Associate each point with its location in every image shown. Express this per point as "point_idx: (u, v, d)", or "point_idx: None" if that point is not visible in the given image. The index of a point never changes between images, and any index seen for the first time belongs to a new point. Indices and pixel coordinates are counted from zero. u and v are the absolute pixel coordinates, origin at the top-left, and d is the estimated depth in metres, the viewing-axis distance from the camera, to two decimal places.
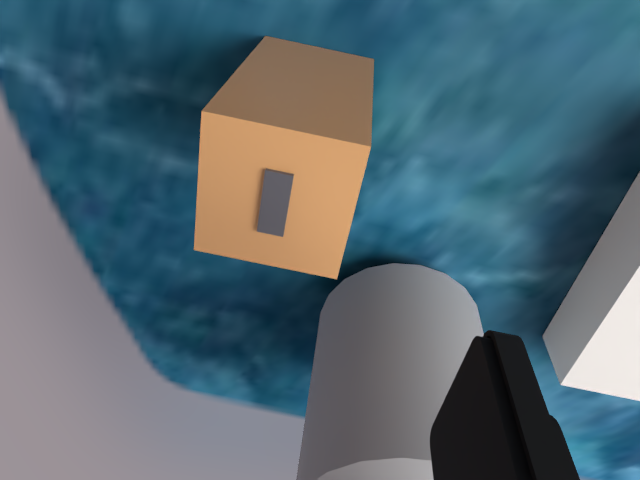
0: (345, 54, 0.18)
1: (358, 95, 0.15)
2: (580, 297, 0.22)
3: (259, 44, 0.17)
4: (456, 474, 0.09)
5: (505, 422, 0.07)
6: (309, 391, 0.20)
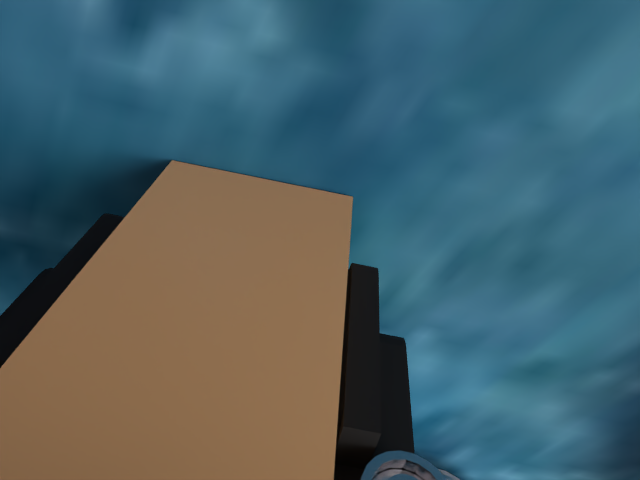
0: (304, 191, 0.11)
1: (315, 331, 0.07)
2: None
3: (151, 187, 0.10)
4: None
5: None
6: None
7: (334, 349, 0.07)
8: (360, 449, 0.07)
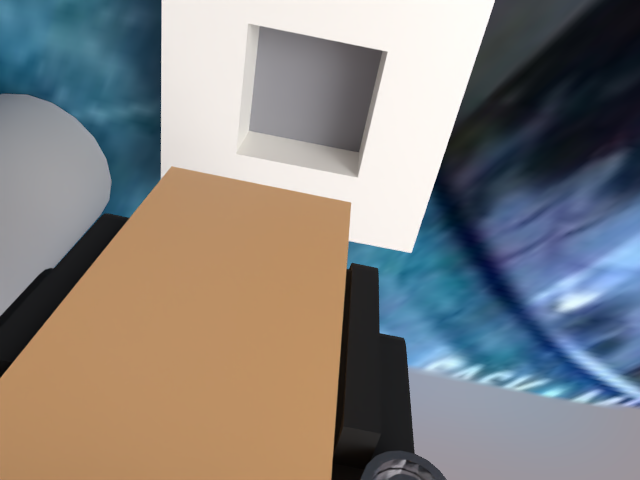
0: (303, 197, 0.11)
1: (313, 339, 0.08)
2: None
3: (151, 194, 0.10)
4: None
5: None
6: None
7: (332, 356, 0.07)
8: (360, 449, 0.07)
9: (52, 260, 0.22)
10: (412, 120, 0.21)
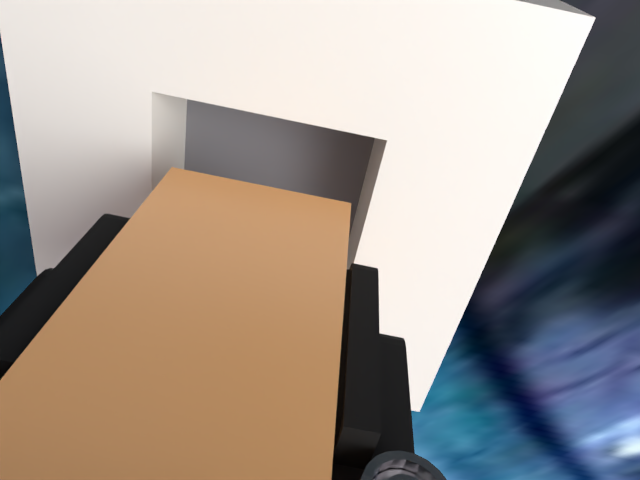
0: (303, 198, 0.11)
1: (313, 339, 0.08)
2: None
3: (151, 195, 0.10)
4: None
5: None
6: None
7: (332, 357, 0.07)
8: (360, 449, 0.07)
9: None
10: (425, 241, 0.13)
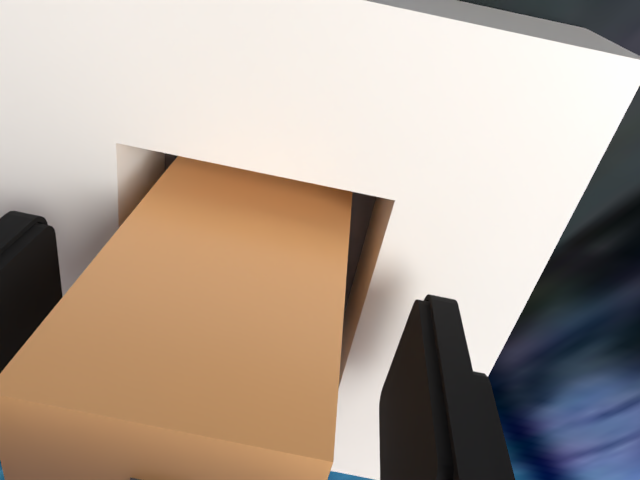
0: None
1: (322, 274, 0.09)
2: None
3: (177, 158, 0.11)
4: (394, 427, 0.09)
5: (430, 372, 0.08)
6: None
7: (339, 287, 0.09)
8: None
9: None
10: None
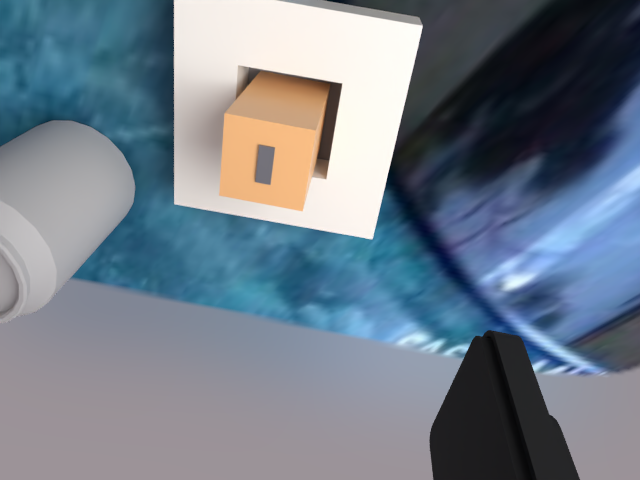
0: (311, 81, 0.29)
1: (315, 105, 0.25)
2: None
3: (256, 76, 0.28)
4: (456, 473, 0.09)
5: (505, 422, 0.07)
6: None
7: (320, 107, 0.25)
8: None
9: (91, 246, 0.28)
10: (364, 134, 0.27)
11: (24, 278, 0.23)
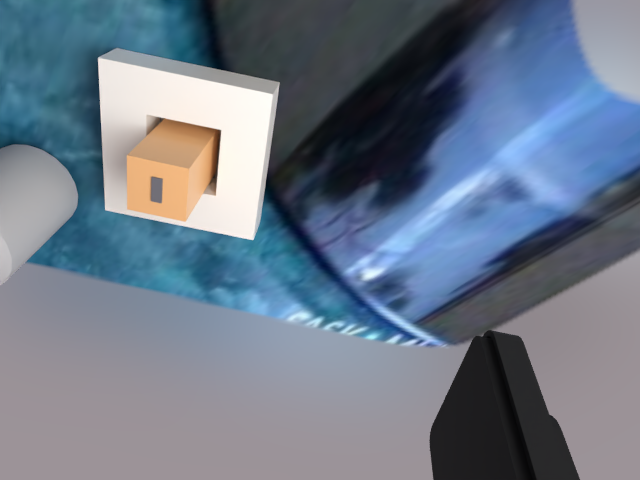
0: None
1: (198, 146, 0.36)
2: None
3: (163, 120, 0.38)
4: (455, 473, 0.09)
5: (505, 422, 0.07)
6: None
7: (201, 148, 0.35)
8: None
9: (40, 241, 0.39)
10: (240, 165, 0.38)
11: None
